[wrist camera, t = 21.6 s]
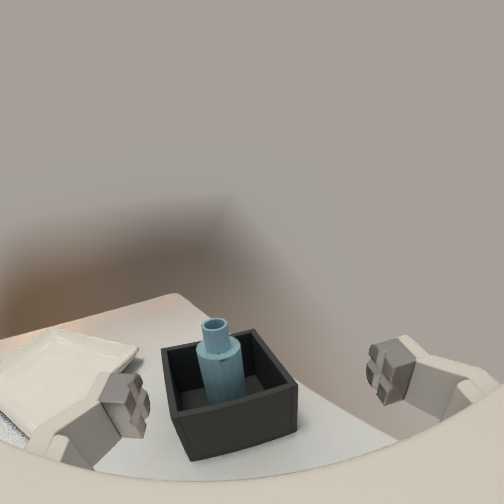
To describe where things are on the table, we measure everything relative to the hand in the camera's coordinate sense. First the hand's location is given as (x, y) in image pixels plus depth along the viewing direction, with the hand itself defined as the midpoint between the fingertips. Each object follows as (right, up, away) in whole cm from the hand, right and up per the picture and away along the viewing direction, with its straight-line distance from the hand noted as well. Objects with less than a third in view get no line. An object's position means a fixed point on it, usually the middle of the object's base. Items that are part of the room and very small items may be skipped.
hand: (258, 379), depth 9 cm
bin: (-3, -18, +25) cm, 31 cm away
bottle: (-3, -17, +25) cm, 30 cm away
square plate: (-36, -20, +28) cm, 49 cm away
